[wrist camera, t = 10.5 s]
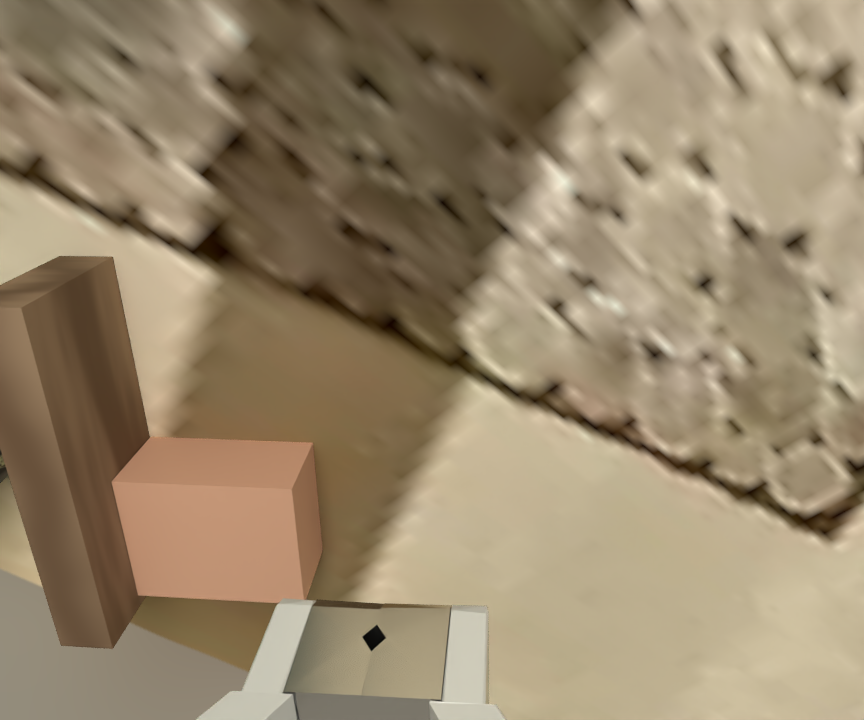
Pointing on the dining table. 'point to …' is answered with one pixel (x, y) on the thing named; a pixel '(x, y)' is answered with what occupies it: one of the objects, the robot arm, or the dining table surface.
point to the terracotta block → (221, 518)
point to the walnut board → (72, 438)
